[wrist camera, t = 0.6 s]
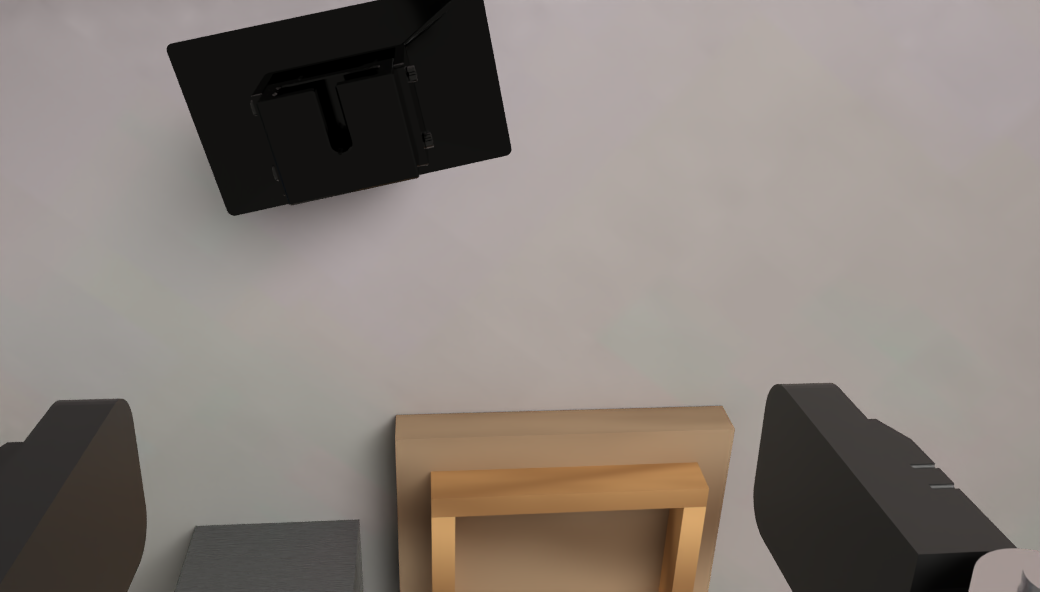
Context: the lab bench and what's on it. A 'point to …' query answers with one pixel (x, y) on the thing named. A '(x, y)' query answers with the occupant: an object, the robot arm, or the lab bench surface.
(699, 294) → the lab bench surface
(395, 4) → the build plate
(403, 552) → the wooden base board
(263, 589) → the grey box with knob
